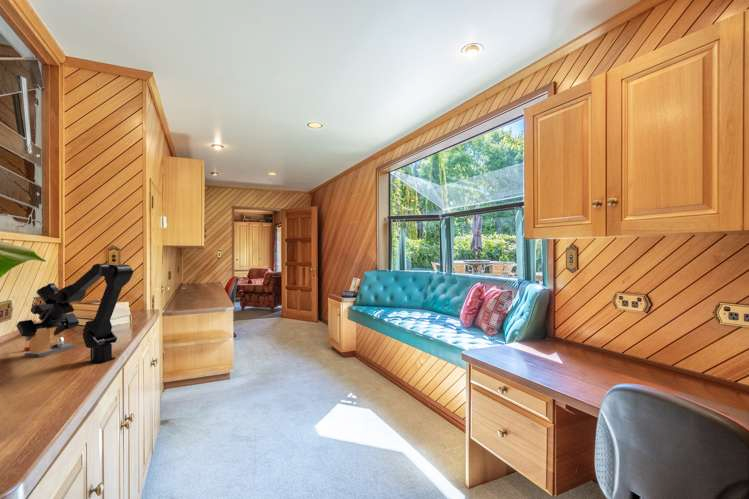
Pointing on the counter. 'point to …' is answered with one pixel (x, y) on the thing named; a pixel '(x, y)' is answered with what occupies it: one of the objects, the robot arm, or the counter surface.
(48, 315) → the robot arm
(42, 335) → the orange sleeve
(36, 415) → the counter surface
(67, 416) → the counter surface
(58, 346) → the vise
